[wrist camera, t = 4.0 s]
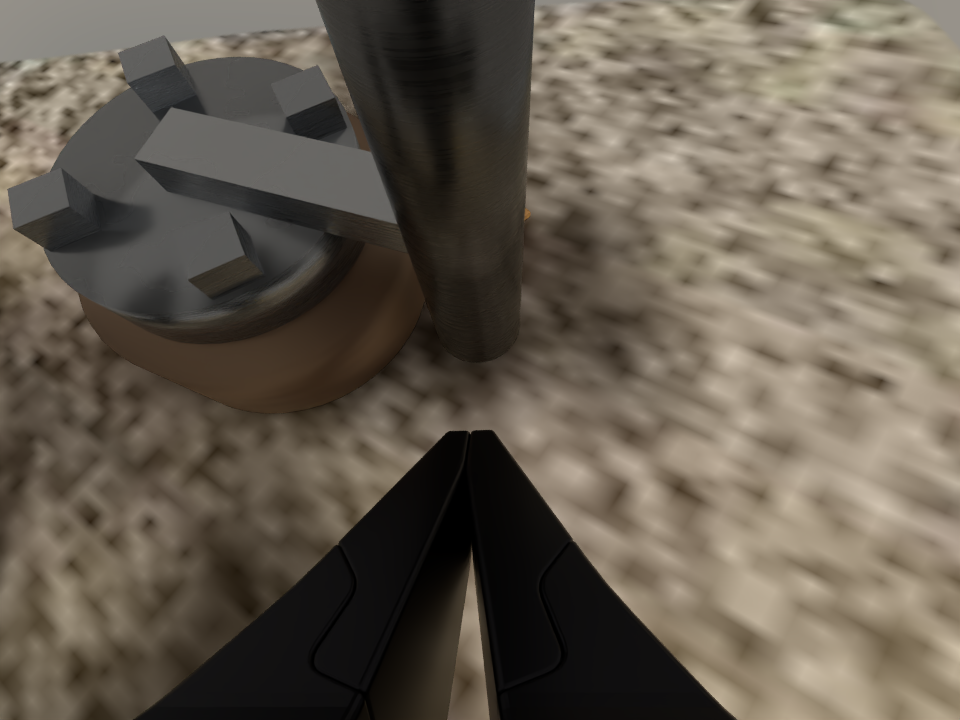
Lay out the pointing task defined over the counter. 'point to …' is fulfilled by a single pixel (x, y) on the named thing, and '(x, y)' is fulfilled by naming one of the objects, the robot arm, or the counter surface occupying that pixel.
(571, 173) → the counter surface
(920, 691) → the counter surface
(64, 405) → the counter surface
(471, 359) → the lugged disk with column
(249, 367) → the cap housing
